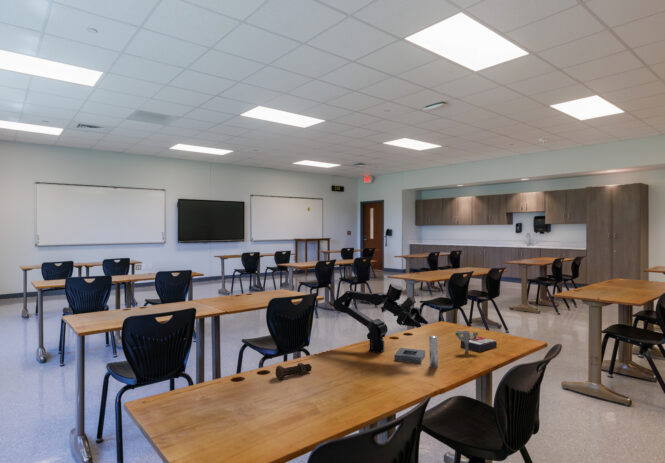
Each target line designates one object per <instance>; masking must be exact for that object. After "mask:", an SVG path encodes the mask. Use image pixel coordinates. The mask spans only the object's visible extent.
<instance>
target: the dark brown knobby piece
mask: <svg viewBox="0 0 665 463" xmlns="http://www.w3.org/2000/svg"><path fill="white" fill-rule="evenodd" d="M312 368H313V367H312V365H311V364H310V363H305V364H304V363H303V362H298V364H297V365H295V366H294V365H293V366H289V367H284V366H282V365H277V366H276V368H275V377H276V379H277V380H279V381H283V380H284V379H285V377H288V376H292V375H300V376H304V375H305V373H308V372H312Z"/></svg>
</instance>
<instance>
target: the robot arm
mask: <svg viewBox="0 0 665 463" xmlns="http://www.w3.org/2000/svg"><path fill="white" fill-rule="evenodd" d="M403 291H404V288H403V287H402V286H401V285H398V284H394V283H389V285H388V290H387V292H386V293H385V292H381V291H380V292H372V293H370V292H364V291H359V290H358V291H357V290H356V291H355V290H352V289H351V290H347V291H345V292H344V293H343V294H342V295H341V296H339V297H338V298H337V299H334V302H333V303H332V304H333V309H334V310H335V311H337V312H339V313H344V314H346V315H348V316H350V317H351V318H352V319H354V320H356V321H357V322H359V323H361V325H363V326H364V327H365V328H367V330H368V333H367V334H366V338H367V340H369V349H368V352H370V351H374V352H373V353H382V352H383V351H384V350H385V340H384V338H385V337H386V334H387V333H388V325H387V324H386V323H385V321H382V320H381V319H380V318H376V319H372V318H371V317H369V316H368V315H367V314H365V313H363V312H362V311H361V310H358V309H357V308H356V307H354V306H353V304H352V301H353V300H358V301H364V302H367V303H369V304H371V305H374V306H380V305H382V306H381V307H380V310H381V313H385V312H389V313H391V314H392V315H393V317H397V318H396V324H398V326H405V327H414V328H421V327H422V324H424V325H428V324H429V322H428V321H427V319H426V318H425V317H424V316H422V314H421V311H420V308H419V307H417V306H416V307H412V306H413V305H414V304H416V303H417V300H416V299H415V297H413V296H409V297H407V298H406V299H405V300H404V301H403V302H402V303H399V302H397V301H399V300H400V299H401V296H402V293H403Z"/></svg>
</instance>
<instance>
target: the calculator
mask: <svg viewBox="0 0 665 463" xmlns="http://www.w3.org/2000/svg"><path fill="white" fill-rule="evenodd" d="M496 346H497V340H495V339H491V338H486V337H482V336H476V340H469V344H468V350H470V351H473V352H477V353H481V352H484V351H486V350H490V348H491V349H494V348H497V347H496ZM493 347H494V348H493ZM460 348H463V349H465V343H464V340H460Z"/></svg>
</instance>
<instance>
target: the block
mask: <svg viewBox="0 0 665 463" xmlns="http://www.w3.org/2000/svg"><path fill="white" fill-rule="evenodd" d="M425 357H426V350H425V349H417V348H416V349H415V348H404V347H400V348H399V349H398V350H397V351H396V352H395V354H394V357H393V358H394V361H396V362H397V361H398V362H404V363H413V364H422V362H423V360H424V359H425Z"/></svg>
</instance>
